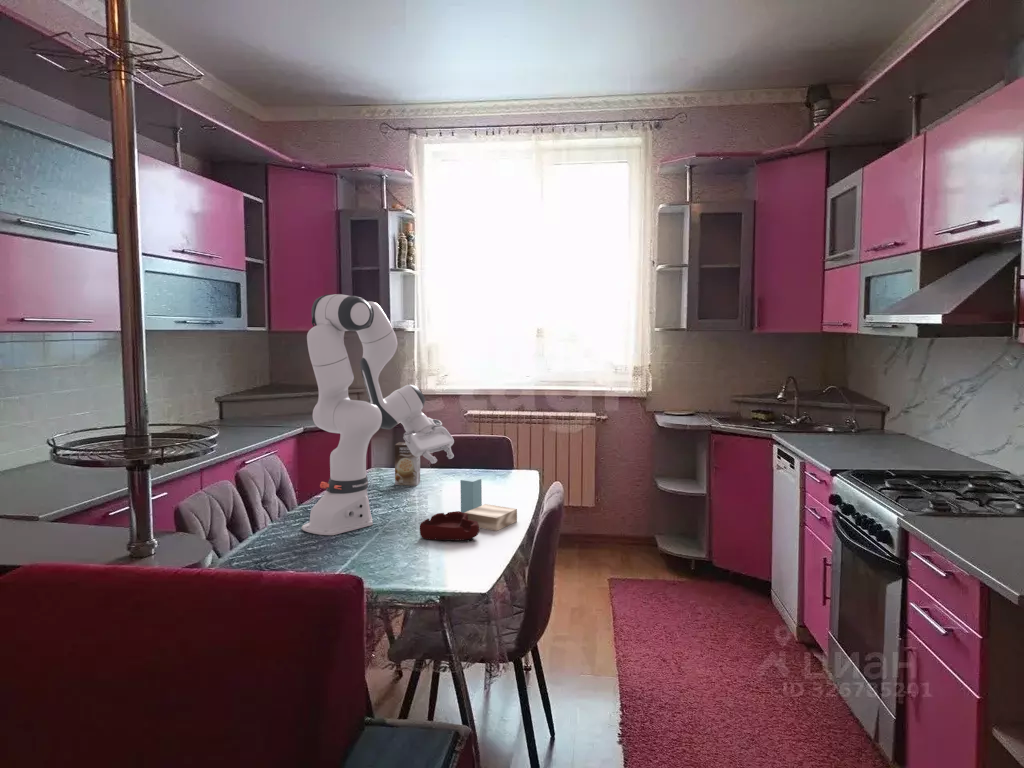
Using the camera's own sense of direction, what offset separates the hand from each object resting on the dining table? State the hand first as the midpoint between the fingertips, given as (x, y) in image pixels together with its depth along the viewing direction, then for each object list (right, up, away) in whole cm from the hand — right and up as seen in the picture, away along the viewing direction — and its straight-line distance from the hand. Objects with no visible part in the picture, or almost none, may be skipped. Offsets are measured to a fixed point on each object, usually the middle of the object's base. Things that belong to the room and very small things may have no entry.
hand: (443, 460), depth 235 cm
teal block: (+10, -17, -5) cm, 20 cm away
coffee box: (-18, -14, +37) cm, 43 cm away
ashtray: (+4, -20, -31) cm, 36 cm away
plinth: (+17, -18, -18) cm, 30 cm away
